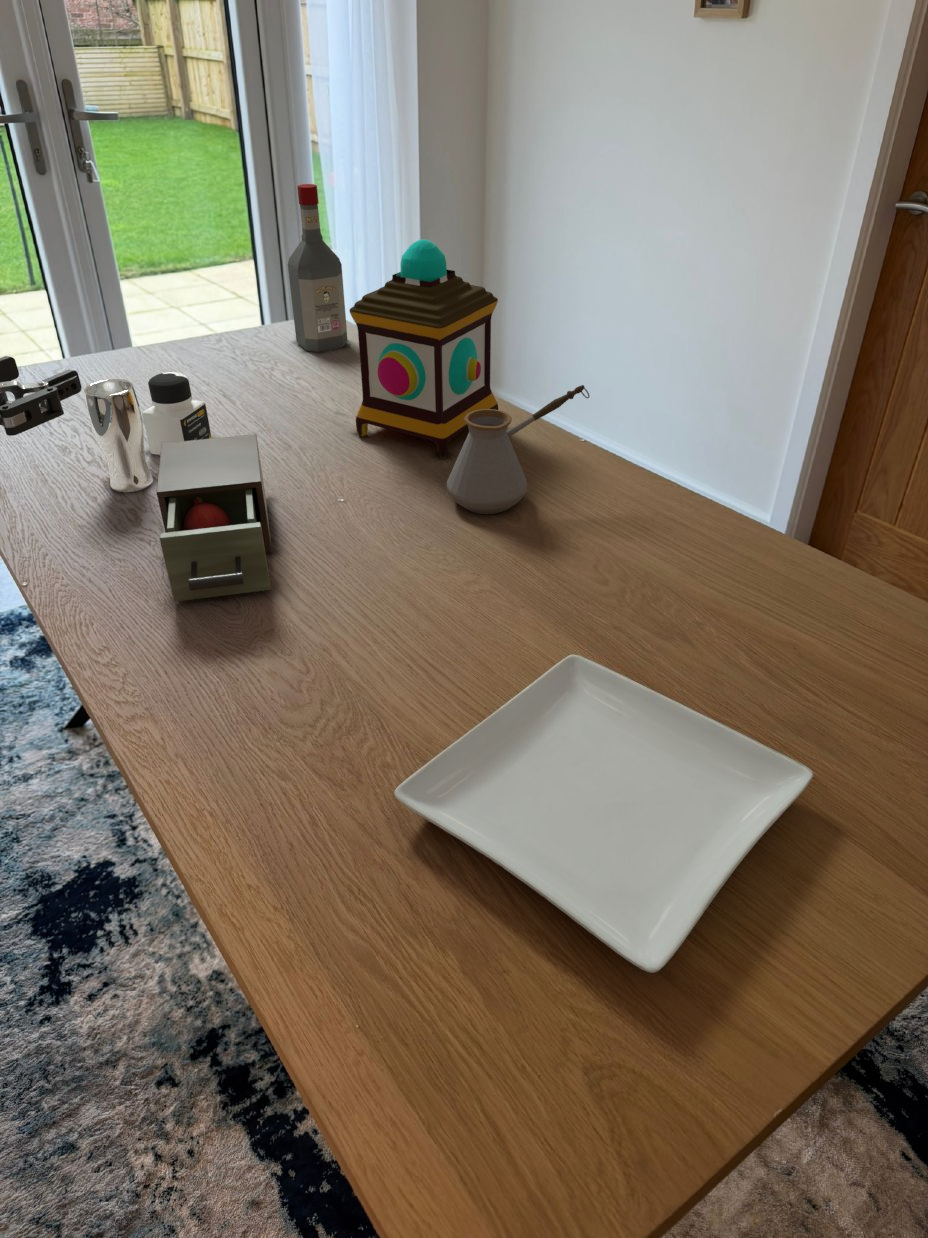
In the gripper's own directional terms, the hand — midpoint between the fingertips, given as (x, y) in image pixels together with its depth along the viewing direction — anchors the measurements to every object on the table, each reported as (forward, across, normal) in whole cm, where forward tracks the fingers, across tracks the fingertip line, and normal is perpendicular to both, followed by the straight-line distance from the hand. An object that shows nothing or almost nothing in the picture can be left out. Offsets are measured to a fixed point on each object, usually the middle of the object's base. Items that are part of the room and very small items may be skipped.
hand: (45, 372), depth 88 cm
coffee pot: (+49, +30, -30) cm, 65 cm away
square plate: (-3, +62, -30) cm, 69 cm away
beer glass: (+27, -23, -30) cm, 46 cm away
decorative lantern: (+64, +8, -30) cm, 71 cm away
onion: (+12, +6, -27) cm, 30 cm away
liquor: (+92, -32, -31) cm, 102 cm away
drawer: (+11, +7, -29) cm, 32 cm away
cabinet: (+21, -1, -30) cm, 37 cm away
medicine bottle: (+40, -24, -30) cm, 56 cm away
